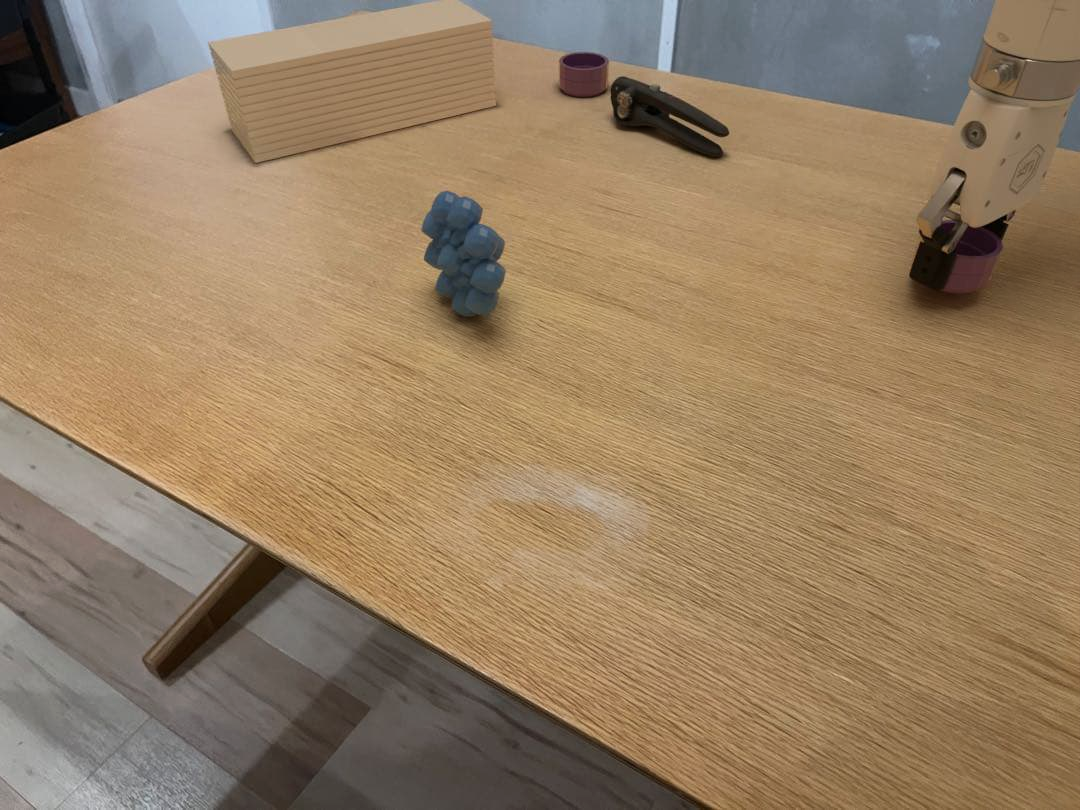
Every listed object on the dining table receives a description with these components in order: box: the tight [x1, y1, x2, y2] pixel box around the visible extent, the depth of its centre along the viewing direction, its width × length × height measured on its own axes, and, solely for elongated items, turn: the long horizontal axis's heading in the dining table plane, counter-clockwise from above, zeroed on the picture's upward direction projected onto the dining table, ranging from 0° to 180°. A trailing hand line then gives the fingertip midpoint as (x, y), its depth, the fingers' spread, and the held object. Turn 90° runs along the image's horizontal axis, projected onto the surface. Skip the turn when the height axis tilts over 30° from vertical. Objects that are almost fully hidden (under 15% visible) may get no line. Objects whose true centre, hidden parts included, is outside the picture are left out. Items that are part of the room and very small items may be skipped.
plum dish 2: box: [911, 219, 1004, 294], centre depth 73 cm, size 7×7×4 cm
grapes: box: [421, 190, 507, 318], centre depth 70 cm, size 12×7×12 cm, turn 34°
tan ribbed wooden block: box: [207, 0, 497, 164], centre depth 102 cm, size 32×11×11 cm, turn 120°
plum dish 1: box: [558, 51, 610, 98], centre depth 111 cm, size 7×7×4 cm
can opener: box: [609, 75, 730, 158], centre depth 99 cm, size 18×7×6 cm, turn 41°
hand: (951, 268), depth 74 cm, fingers closed on plum dish 2, 6 cm apart
